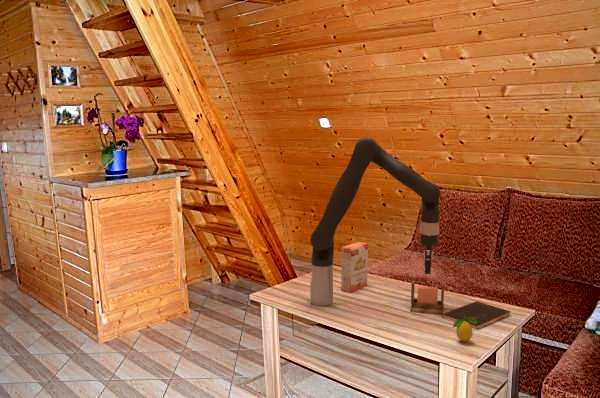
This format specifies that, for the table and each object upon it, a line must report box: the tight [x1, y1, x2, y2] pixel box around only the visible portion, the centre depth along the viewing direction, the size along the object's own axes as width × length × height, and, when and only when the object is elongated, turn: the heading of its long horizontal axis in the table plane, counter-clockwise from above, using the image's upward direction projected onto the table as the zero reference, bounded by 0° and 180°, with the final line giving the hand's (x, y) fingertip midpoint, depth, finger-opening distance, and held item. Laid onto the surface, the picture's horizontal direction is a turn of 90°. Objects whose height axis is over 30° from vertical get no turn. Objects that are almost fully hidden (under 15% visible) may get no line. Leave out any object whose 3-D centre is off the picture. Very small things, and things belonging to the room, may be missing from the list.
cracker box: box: [340, 241, 369, 293], centre depth 238 cm, size 14×6×21 cm, turn 139°
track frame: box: [409, 280, 445, 316], centre depth 211 cm, size 13×12×11 cm
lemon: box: [452, 315, 477, 342], centre depth 179 cm, size 7×6×10 cm
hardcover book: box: [441, 300, 512, 330], centre depth 203 cm, size 16×23×2 cm
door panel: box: [416, 285, 439, 305], centre depth 211 cm, size 8×3×8 cm, turn 74°
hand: (428, 270), depth 210 cm, fingers open, 8 cm apart
